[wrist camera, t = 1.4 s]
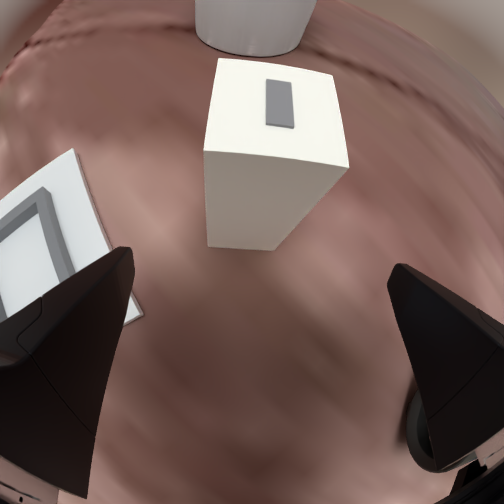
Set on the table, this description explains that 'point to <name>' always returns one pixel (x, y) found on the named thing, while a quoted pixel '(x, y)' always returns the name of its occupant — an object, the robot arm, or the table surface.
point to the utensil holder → (252, 25)
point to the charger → (268, 151)
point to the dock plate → (49, 235)
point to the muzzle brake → (425, 439)
